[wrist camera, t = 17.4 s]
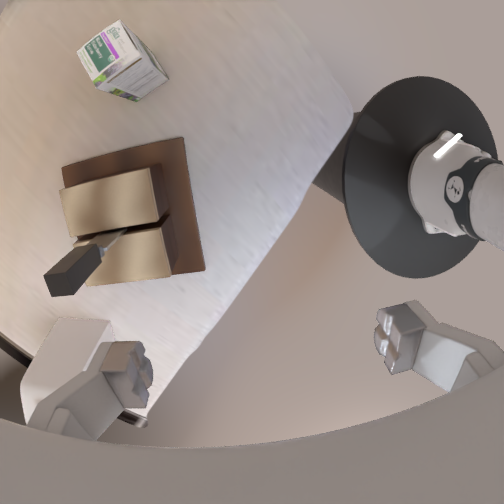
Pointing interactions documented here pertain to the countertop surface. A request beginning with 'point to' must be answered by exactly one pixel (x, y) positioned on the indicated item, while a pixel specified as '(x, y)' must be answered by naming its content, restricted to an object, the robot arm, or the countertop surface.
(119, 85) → the syrup box
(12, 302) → the countertop surface
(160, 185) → the brown square slotted block
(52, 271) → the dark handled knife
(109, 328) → the milk
